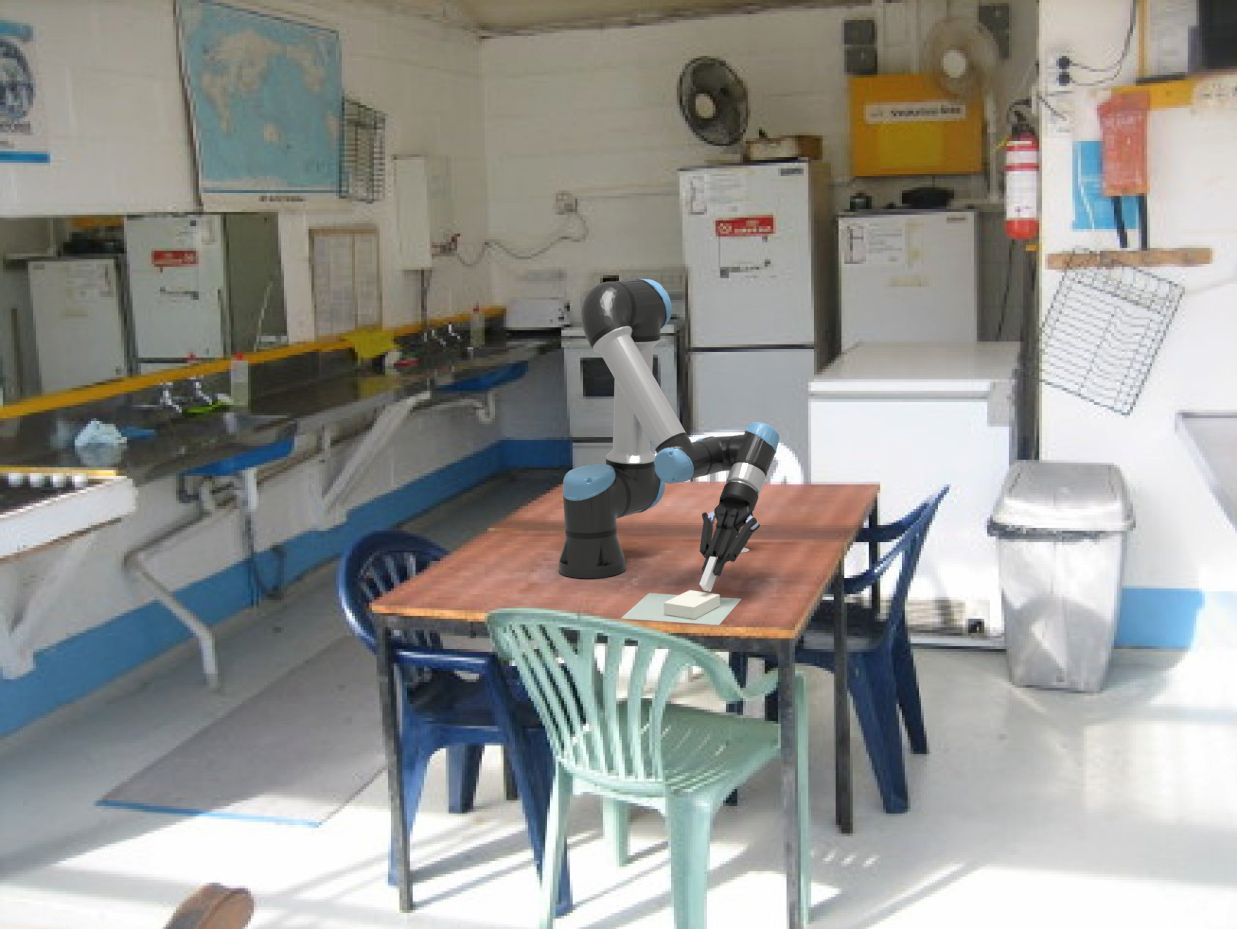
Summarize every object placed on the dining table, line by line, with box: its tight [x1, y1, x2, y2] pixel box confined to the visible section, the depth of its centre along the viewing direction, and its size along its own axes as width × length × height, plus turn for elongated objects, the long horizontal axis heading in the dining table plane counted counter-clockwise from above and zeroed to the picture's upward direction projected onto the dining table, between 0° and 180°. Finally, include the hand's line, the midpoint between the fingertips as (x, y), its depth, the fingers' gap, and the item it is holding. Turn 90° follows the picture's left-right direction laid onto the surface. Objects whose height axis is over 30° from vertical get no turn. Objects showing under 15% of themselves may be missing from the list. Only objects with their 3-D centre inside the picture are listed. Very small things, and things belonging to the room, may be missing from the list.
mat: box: [620, 592, 742, 626], centre depth 267 cm, size 20×18×1 cm
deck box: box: [664, 589, 721, 619], centre depth 265 cm, size 2×7×10 cm
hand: (705, 587), depth 267 cm, fingers closed
